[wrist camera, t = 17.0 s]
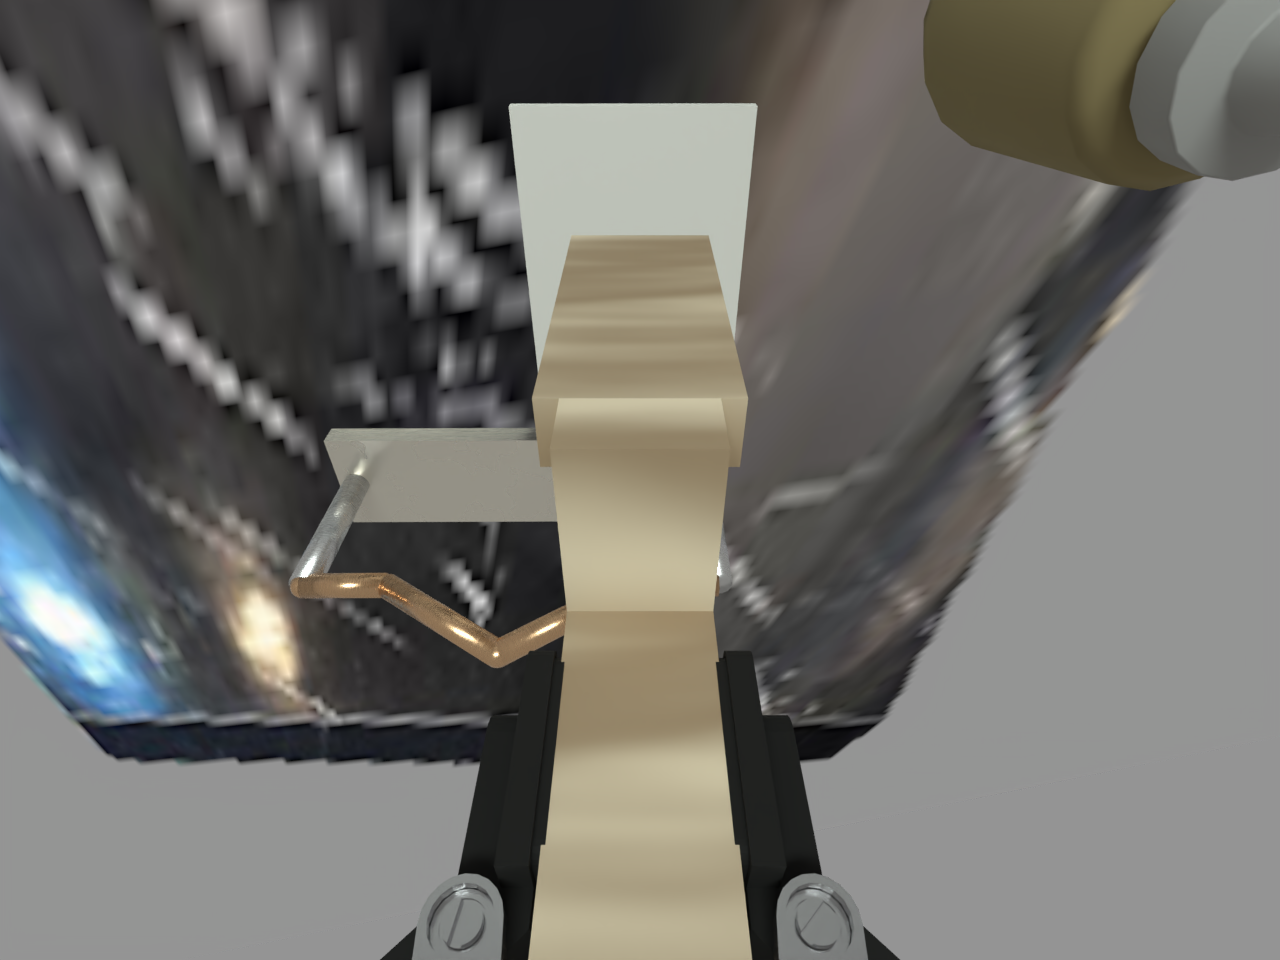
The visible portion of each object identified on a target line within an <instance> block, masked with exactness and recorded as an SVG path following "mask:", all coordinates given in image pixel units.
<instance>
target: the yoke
mask: <svg viewBox="0 0 1280 960" xmlns="http://www.w3.org/2000/svg"><path fill="white" fill-rule="evenodd" d="M532 403H533V411H534V420H535V428H536V436H537V445H538V453H539V461H540V467H552V475H553V485H554V494H555V504H556V513H557V522H558V532H559V541H560V551H561V560H562V570H563V579H564V589H565V598H566V608H567V615H566V624H565V633H564V642H563V651H562V660H561V662H565V664H564V673H563V683H562V692H561V702H560V711H559V720H558V730H557V739H556V749H555V758H554V768H553V777H552V787H551V796H550V805H549V815H548V824H547V834H546V843H545V845H541V850H540V859H539V868H538V877H537V886H536V895H535V904H534V913H533V922H532V931H531V940H530V949H529V958H528V960H752V954H751V945H750V936H749V927H748V918H747V909H746V900H745V891H744V882H743V873H742V864H741V855H740V847H739V845H735V841H734V831H733V822H732V812H731V803H730V793H729V784H728V774H727V765H726V755H725V746H724V737H723V727H722V718H721V708H720V699H719V689H718V680H717V670H716V662H719V658H718V649H717V640H716V631H715V622H714V613H713V609H714V600H715V590H716V581H717V571H718V562H719V552H720V543H721V534H722V524H723V515H724V505H725V496H726V486H727V477H728V467H740V463H741V454H742V446H743V437H744V429H745V421H746V412H747V404H748V396H747V391H746V387H745V383H744V379H743V375H742V371H741V367H740V363H739V359H738V354H737V350H736V346H735V342H734V338H733V334H732V330H731V326H730V321H729V317H728V313H727V309H726V305H725V301H724V297H723V293H722V289H721V284H720V280H719V276H718V272H717V268H716V264H715V260H714V256H713V252H712V247H711V243H710V239H709V235H571V239H570V243H569V247H568V251H567V256H566V260H565V264H564V268H563V272H562V276H561V280H560V285H559V289H558V293H557V297H556V301H555V305H554V309H553V313H552V318H551V322H550V326H549V330H548V334H547V338H546V342H545V347H544V351H543V355H542V359H541V363H540V367H539V371H538V375H537V380H536V384H535V388H534V392H533V396H532Z"/></svg>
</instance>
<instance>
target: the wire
mask: <svg viewBox="0 0 1280 960" xmlns="http://www.w3.org/2000/svg"><path fill="white" fill-rule="evenodd" d="M324 443H325V446H326V449H327V451H328V454H329V457H330V460H331V462H332V465H333V468H334V470H335V473H336V476H337V478H338V481H339V484H340V488H339V490H338V492H337V494H336V495H335V497H334V499H333V501H332V503H331V504H330V506H329V508H328V510H327V512H326V514H325V515H324V517H323V519H322V521H321V523H320V525H319V526H318V528H317V530H316V532H315V534H314V535H313V537H312V539H311V541H310V543H309V545H308V546H307V548H306V550H305V552H304V554H303V556H302V557H301V559H300V561H299V563H298V565H297V566H296V568H295V570H294V572H293V574H292V576H291V577H290V579H289V582H288V584H289V586H290V591H291V593H292V594H293V595H294V596H296V597H298V598H383V599H384V600H386V601H387V602H389V603H391V604H392V605H394V606H395V607H397V608H399V609H400V610H402V611H403V612H405V613H406V614H408V615H410V616H411V617H413V618H414V619H416V620H418V621H419V622H421V623H422V624H424V625H425V626H427V627H429V628H430V629H432V630H433V631H435V632H437V633H438V634H440V635H441V636H443V637H444V638H446V639H448V640H449V641H451V642H452V643H454V644H456V645H457V646H459V647H460V648H462V649H463V650H465V651H467V652H468V653H470V654H471V655H473V656H475V657H476V658H478V659H479V660H481V661H482V662H484V663H486V664H487V665H489V666H490V667H493V668H501V667H504V666H505V665H507V664H509V663H511V662H513V661H515V660H517V659H519V658H521V657H523V656H525V655H527V654H528V653H529V651H535V650H536V649H538V648H540V647H542V646H544V645H546V644H548V643H550V642H552V641H554V640H556V639H558V638H560V637H562V636H564V633H565V624H566V615H567V608H566V605H564V606H562V607H560V608H558V609H556V610H554V611H552V612H550V613H548V614H546V615H544V616H542V617H540V618H538V619H536V620H534V621H532V622H530V623H528V624H526V625H524V626H522V627H520V628H518V629H516V630H514V631H512V632H510V633H508V634H506V635H504V636H501V637H499V638H498V637H497V636H495V635H493V634H492V633H490V632H489V631H487V630H485V629H484V628H482V627H480V626H479V625H477V624H475V623H474V622H472V621H470V620H469V619H467V618H465V617H464V616H462V615H460V614H459V613H457V612H455V611H454V610H452V609H450V608H449V607H447V606H445V605H444V604H442V603H440V602H439V601H437V600H435V599H434V598H432V597H430V596H429V595H427V594H425V593H424V592H422V591H420V590H419V589H417V588H415V587H414V586H412V585H410V584H409V583H407V582H405V581H404V580H402V579H400V578H399V577H397V576H396V575H394V574H389V573H327V572H328V570H329V568H330V566H331V564H332V562H333V560H334V558H335V556H336V554H337V552H338V550H339V548H340V546H341V544H342V542H343V540H344V538H345V536H346V534H347V532H348V530H349V528H350V526H351V524H352V522H536V521H557V513H556V504H555V494H554V485H553V475H552V467H540V461H539V453H538V445H537V436H536V428H369V429H331V430H330V432H329V433H328V435H327V437H326V438H325V440H324ZM731 587H732V576H731V570H730V563H729V557H728V550H727V544H726V537H725V531H724V524H722V534H721V543H720V552H719V562H718V571H717V581H716V590H715V597H718V596H719V593H724V592H726V591H728V590H729V589H730V588H731Z"/></svg>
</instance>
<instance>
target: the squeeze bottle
mask: <svg viewBox="0 0 1280 960" xmlns="http://www.w3.org/2000/svg"><path fill="white" fill-rule="evenodd" d="M923 58H924V78H925V84H926V86H927V89H928V91H929V94H930V96H931V98H932V101H933V103H934V106H935V108H936V111H937V113H938V115H939V118H940V120H941V122H942V123H943V124H945V125H946V126H947V127H948V128H950V129H951V130H952V131H953V132H955V133H956V134H957V135H958V136H960V137H961V138H962V139H963V140H965V141H966V142H967V143H969V144H970V145H971V146H974V147H978V148H981V149H985V150H988V151H992V152H995V153H999V154H1002V155H1006V156H1009V157H1013V158H1016V159H1020V160H1023V161H1027V162H1030V163H1034V164H1037V165H1041V166H1045V167H1048V168H1052V169H1055V170H1059V171H1062V172H1066V173H1069V174H1073V175H1076V176H1080V177H1083V178H1087V179H1090V180H1094V181H1097V182H1101V183H1104V184H1109V185H1115V186H1121V187H1128V188H1134V189H1140V190H1147V191H1152V190H1156V189H1160V188H1164V187H1168V186H1172V185H1176V184H1180V183H1184V182H1189V181H1193V180H1197V179H1201V178H1202V177H1211V178H1217V179H1223V180H1229V181H1235V180H1239V179H1243V178H1247V177H1251V176H1255V175H1259V174H1263V173H1268V172H1272V171H1276V170H1277V169H1279V168H1280V0H930V2H929V5H928V8H927V11H926V14H925V17H924V32H923Z"/></svg>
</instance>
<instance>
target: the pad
mask: <svg viewBox="0 0 1280 960" xmlns="http://www.w3.org/2000/svg"><path fill="white" fill-rule="evenodd" d="M509 114H510V124H511V133H512V142H513V151H514V160H515V169H516V178H517V187H518V196H519V205H520V214H521V223H522V232H523V241H524V250H525V259H526V269H527V278H528V287H529V296H530V305H531V314H532V323H533V332H534V341H535V350H536V359H537V368H538V371H539V367H540V363H541V359H542V355H543V351H544V347H545V342H546V338H547V334H548V330H549V326H550V322H551V318H552V313H553V309H554V305H555V301H556V297H557V293H558V289H559V285H560V280H561V276H562V272H563V268H564V264H565V260H566V256H567V251H568V247H569V243H570V239H571V235H709V239H710V243H711V247H712V252H713V256H714V260H715V264H716V268H717V272H718V276H719V280H720V284H721V289H722V293H723V297H724V301H725V305H726V309H727V313H728V317H729V321H730V326H731V330H732V334H733V338H734V339H735V329H736V319H737V309H738V299H739V289H740V278H741V268H742V258H743V248H744V238H745V228H746V218H747V207H748V197H749V187H750V177H751V167H752V157H753V147H754V136H755V126H756V116H757V105H756V104H755V103H662V104H510V105H509Z"/></svg>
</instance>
